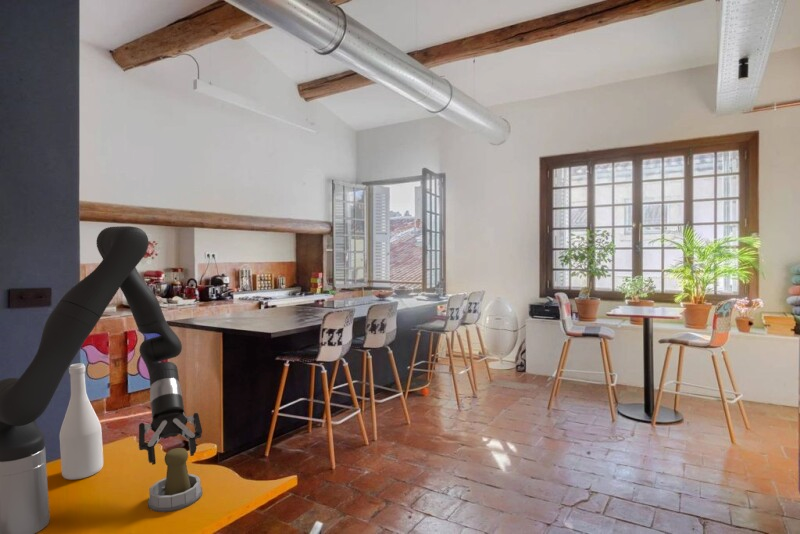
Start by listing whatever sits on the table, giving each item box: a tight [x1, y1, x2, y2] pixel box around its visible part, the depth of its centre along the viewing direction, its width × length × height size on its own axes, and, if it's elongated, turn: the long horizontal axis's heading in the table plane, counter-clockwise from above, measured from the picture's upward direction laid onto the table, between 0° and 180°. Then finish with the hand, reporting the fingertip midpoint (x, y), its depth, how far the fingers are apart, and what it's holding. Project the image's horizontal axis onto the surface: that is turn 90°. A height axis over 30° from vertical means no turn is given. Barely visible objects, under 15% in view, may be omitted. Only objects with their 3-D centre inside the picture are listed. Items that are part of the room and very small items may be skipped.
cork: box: [164, 447, 191, 495], centre depth 116 cm, size 6×6×11 cm
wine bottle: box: [59, 363, 104, 481], centre depth 129 cm, size 10×10×30 cm
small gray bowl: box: [147, 473, 203, 513], centre depth 116 cm, size 12×12×3 cm
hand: (173, 458), depth 116 cm, fingers open, 8 cm apart
